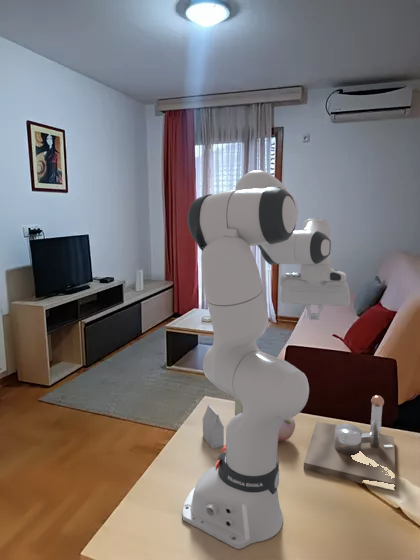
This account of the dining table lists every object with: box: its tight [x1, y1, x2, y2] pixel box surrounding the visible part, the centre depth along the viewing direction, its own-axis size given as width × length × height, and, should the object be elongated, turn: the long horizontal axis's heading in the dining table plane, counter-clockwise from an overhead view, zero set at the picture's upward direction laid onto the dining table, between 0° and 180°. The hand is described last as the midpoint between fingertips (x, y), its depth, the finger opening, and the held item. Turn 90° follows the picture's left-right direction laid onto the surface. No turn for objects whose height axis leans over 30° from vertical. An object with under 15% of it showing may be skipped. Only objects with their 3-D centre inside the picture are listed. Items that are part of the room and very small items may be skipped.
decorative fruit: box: [278, 417, 296, 442], centre depth 120 cm, size 9×8×10 cm
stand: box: [303, 421, 397, 486], centre depth 113 cm, size 22×22×2 cm
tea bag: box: [202, 404, 225, 450], centre depth 119 cm, size 4×7×10 cm, turn 24°
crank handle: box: [334, 394, 385, 455], centre depth 112 cm, size 13×7×15 cm, turn 99°
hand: (314, 319), depth 123 cm, fingers closed
